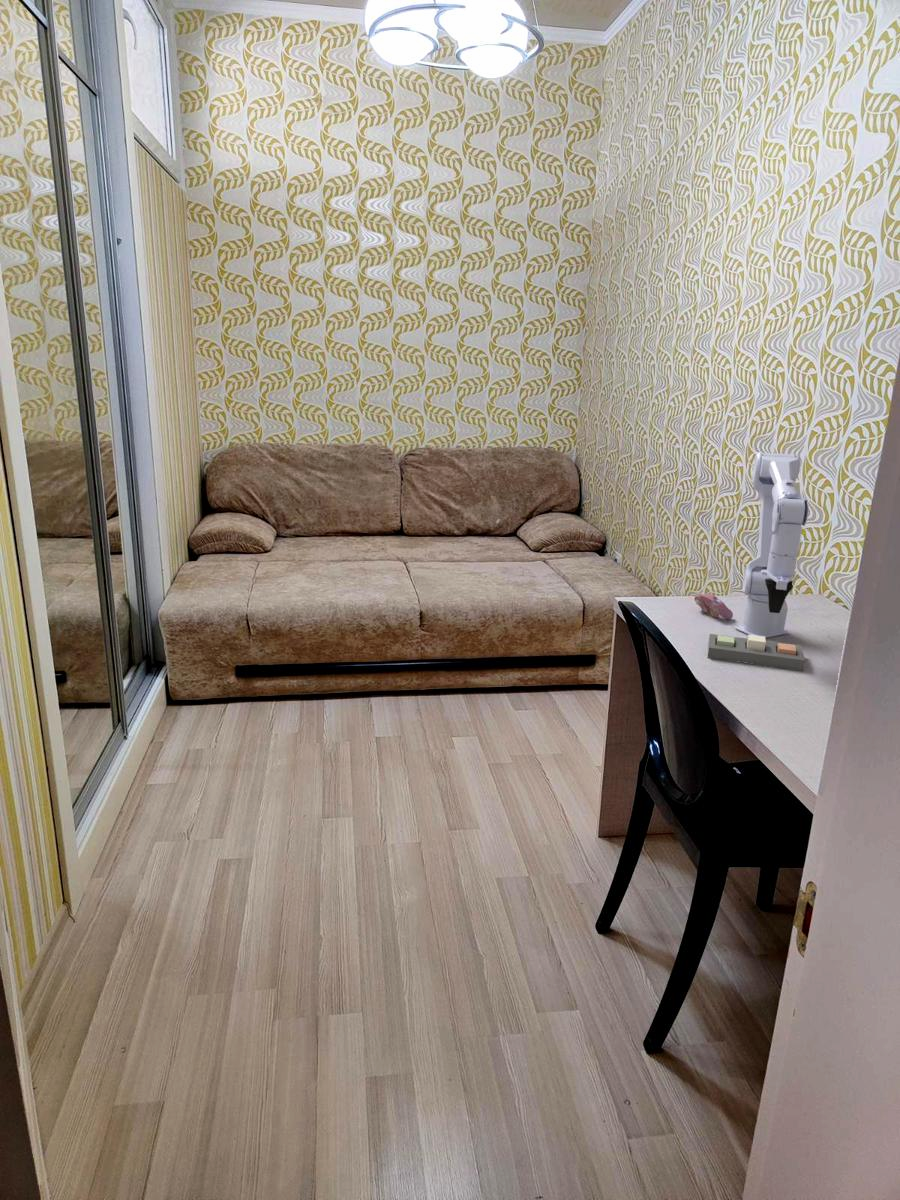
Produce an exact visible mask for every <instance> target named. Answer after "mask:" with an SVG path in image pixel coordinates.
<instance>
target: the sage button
mask: <svg viewBox="0 0 900 1200" xmlns="http://www.w3.org/2000/svg"><path fill="white" fill-rule="evenodd" d="M717 635H718V637H717V644H716V645H721V646H729V647H734V637H735V636H731V637H728V635H723V636H721V635H722V634H717Z"/></svg>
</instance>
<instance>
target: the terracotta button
mask: <svg viewBox="0 0 900 1200" xmlns="http://www.w3.org/2000/svg"><path fill="white" fill-rule="evenodd" d="M777 643H778V647H777V652H776V653H782V654H789V655H796V646H795V645H796V644H793V645H790V644H791V643H785V644H782V642H777Z"/></svg>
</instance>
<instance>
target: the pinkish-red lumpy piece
mask: <svg viewBox="0 0 900 1200" xmlns="http://www.w3.org/2000/svg"><path fill="white" fill-rule="evenodd" d="M694 602H695V604H696V605H698V606H699V608H700V609H701V610H702V613H704V614H706V615H707V614H709V613H710V615H711V617H713V618H714V617H715V618H717V617H719V616H720V617H722V618H723V619H725V620H728V619H729V620H731V619H733V617H734V614H733V611H732V610H731V609H730V608H729V607H727V605H726V604H725V603H724V601H722V600H721V599H720V598H718V597H717V595H715V594H712V593H706V592H705V591H703V592H702V593H699V594H697V595H695V596H694Z"/></svg>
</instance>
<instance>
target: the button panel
mask: <svg viewBox="0 0 900 1200" xmlns="http://www.w3.org/2000/svg"><path fill="white" fill-rule="evenodd" d="M718 635H719V634H713V633H709V637H708V644H707V645H708V646H707V647H708V648H707V659H714V660H722V661H727V660H729V662H735V661H740V662H739V663H742V662H747V663H746V664H749V663H753V664H752V665H756V664H759V665H758V666H764V665H766V667H771V666H773V667H772V668H779V669H780V668H781V669H786V670H795V671H801V672H804V669H805V664H806V659H805V653H804V650H803V645H801V644H791V643H789V644H790V645H795V646H796V655H789V654H782V653H776V652H777V647H778V643H779V642H776V641H770V640H766V644H765V650H764V651H759V650H752V649H747V648H746V646H747V640H748V638H746V637H745V638H744V637H738V636H733V637H734V647H729V646H721V645H716V644H717V637H718ZM720 635H721V636H724V634H723V635H722V634H720ZM727 636H728V635H727ZM728 637H732V636H730V635H729V636H728ZM781 643H782V642H781ZM782 644H786V643H784V642H783V643H782Z"/></svg>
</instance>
